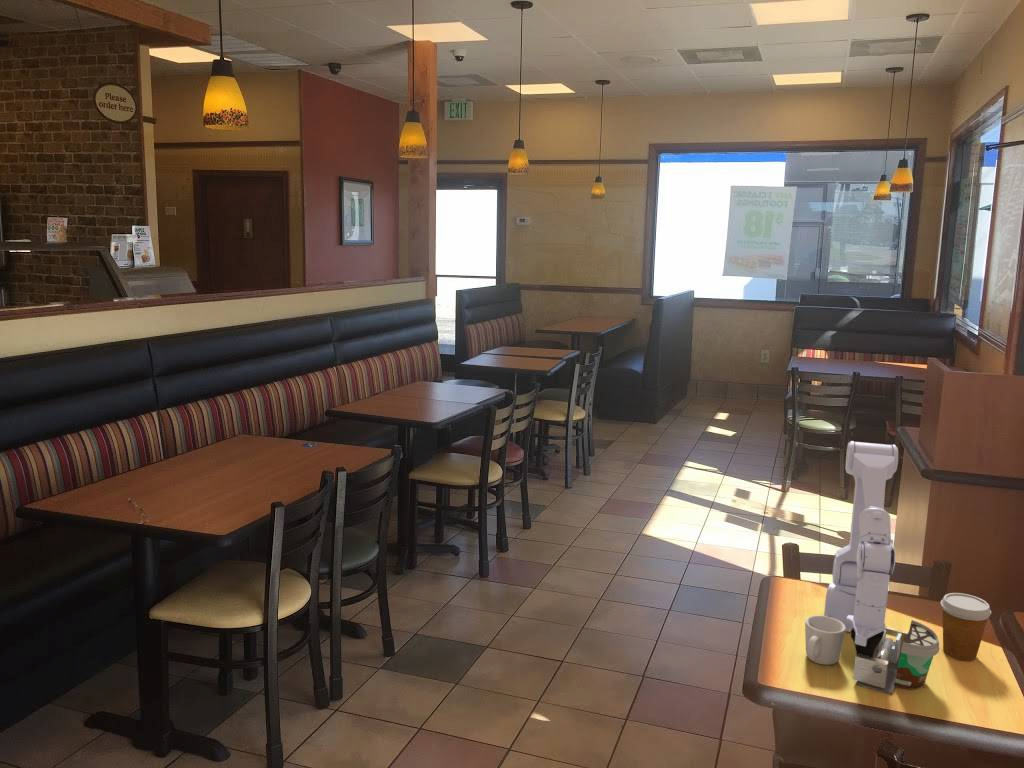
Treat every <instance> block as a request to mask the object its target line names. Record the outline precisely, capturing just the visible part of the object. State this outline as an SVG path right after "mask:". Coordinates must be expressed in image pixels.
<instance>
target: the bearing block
mask: <svg viewBox="0 0 1024 768" xmlns="http://www.w3.org/2000/svg"><path fill="white" fill-rule="evenodd" d="M886 636H887V634H886V629H884V635H883V637H882V639H881V641H880V643H879V651H880V649H881V647H882V645H883V643H884V641H885V639H886V638H887V637H886ZM901 637H902V634H901V633H898V636H897V637H895V641H894V644H893V647H892V649H891V651H890V654H889V656H888V658H887V660H886V661H889V662H892V663H897V660H898V658H899V653H900V645H901ZM879 651H878V653H879Z"/></svg>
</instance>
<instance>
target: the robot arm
mask: <svg viewBox="0 0 1024 768" xmlns="http://www.w3.org/2000/svg"><path fill="white" fill-rule="evenodd" d="M898 463H899V448H898V447H897V446H896V444H883V443H873V442H872V443H871V442H862V441H861V442H860V441H854V440H850V442H848V443H847V446H846V456H845V472H846V473H847V474H849V475H850V476H853V479H854V483H855V484H854V491H853V492H854V493H853V504H852V513H851V514H852V515H851V525H850V535H849V544H847V545H845V546H843V547H841V548H839V549H838V550H837V551H836V552H835V554H834V555H835V556H834V560H833V564H832V582H830V583H829V585H828V587H827V589H826V595H825V600H824V601H825V602H824V603H825V604H824V610H823V611H824V613H823V616H827V617H831V618H834V619H837V620H839V621H841V622H842V623H843V624H844V625H845V627H846V632H849V633H850V638H852V641H853V644H854V648H855V655H856V654H857V653H860V654H863V655H867V656H871V657H873V655H874V652H875V649H876V646H877V645H878V644H879V642H880V641H881V639H882V637H883V635H884V629H885V626H886V623H885V620H886V610H887V602H888V594H889V588H890V587H889V585H890V577H891V575H893V573H894V571H895V566H896V550H895V545H894V539H892V532H891V531H892V530H891V528H892V527H891V515H890V513H889V512H888V511H886V509H885V498H886V497H885V495H886V483H887V481H888V480H890V479H892V478H893V475H894V474H895V473H896V472H897V469H898V465H899V464H898Z"/></svg>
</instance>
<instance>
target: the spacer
mask: <svg viewBox="0 0 1024 768" xmlns="http://www.w3.org/2000/svg"><path fill="white" fill-rule="evenodd" d="M885 629H886V636H887V635H888V636H892V637H895V638H897V636H898V633H901V634H902V637H901V645H900V653H899V656H900V655H901V649H902V645H903V642H905V640H906V637H907V634H908V632H909V630H903V629H900V628H897V627H893V626H890V625H889V626H888V625H885ZM879 643H880V642H879ZM875 650H878V651H879V644H878V645H877V646H876V649H875Z"/></svg>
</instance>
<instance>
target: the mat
mask: <svg viewBox="0 0 1024 768" xmlns="http://www.w3.org/2000/svg"><path fill="white" fill-rule="evenodd" d="M877 656H878V650H875V652H874V655H873V657H874V658H877ZM899 659H900V656H899V658H898V660H897V663H892V662H889V663H888V671H887V680H886V686H885V688H881V687H878V686H874V685H871V684H867V683H864V682H861V681H857V680H856V682H855V685H858V686H861V687H865V688H868V689H871V690H874V691H878V692H880V693H884V694H887V695H891V696H892V695H893V693H894V690H895V688H896V686H894V682H895V677H896V673H897V668H898V664H899Z"/></svg>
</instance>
